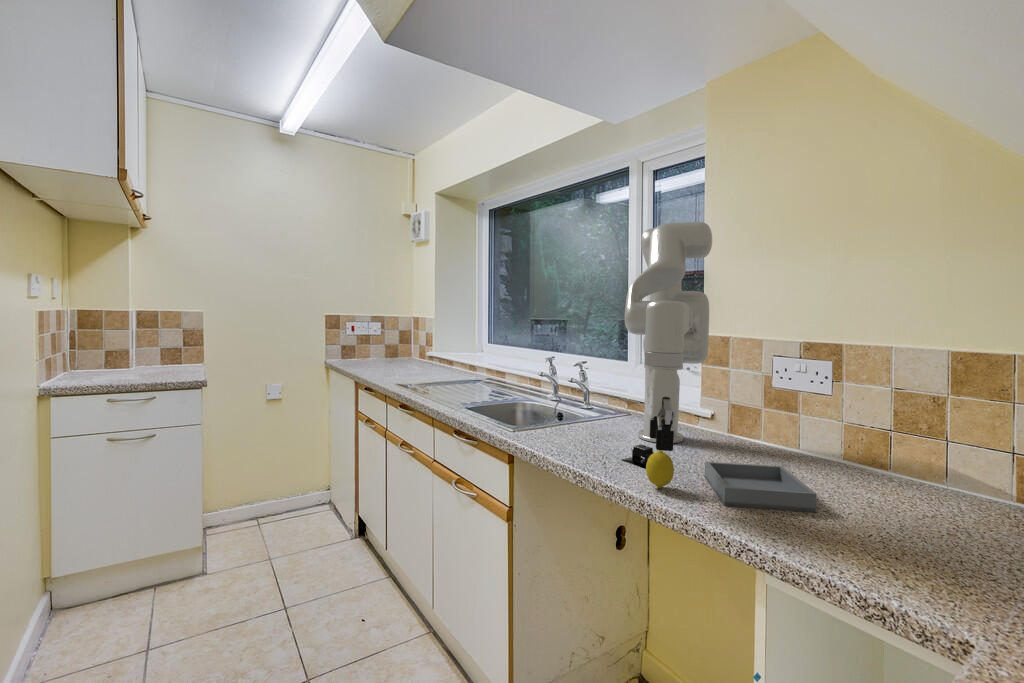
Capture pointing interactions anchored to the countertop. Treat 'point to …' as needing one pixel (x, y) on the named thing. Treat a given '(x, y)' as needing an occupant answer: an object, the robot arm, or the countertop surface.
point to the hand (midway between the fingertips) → (660, 444)
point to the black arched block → (639, 456)
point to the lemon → (659, 469)
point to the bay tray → (759, 487)
